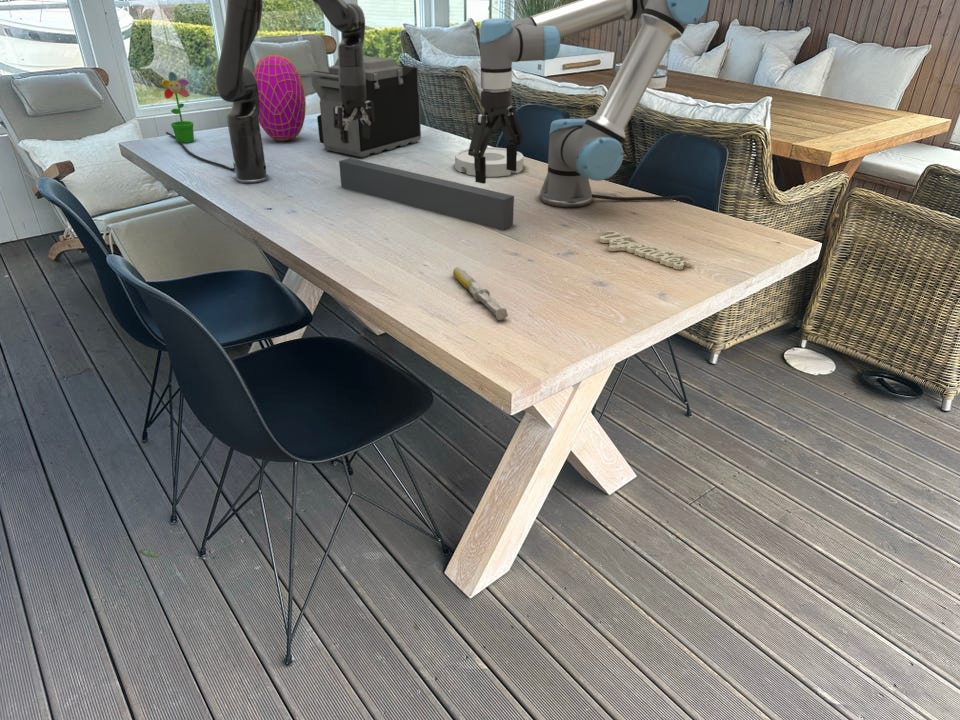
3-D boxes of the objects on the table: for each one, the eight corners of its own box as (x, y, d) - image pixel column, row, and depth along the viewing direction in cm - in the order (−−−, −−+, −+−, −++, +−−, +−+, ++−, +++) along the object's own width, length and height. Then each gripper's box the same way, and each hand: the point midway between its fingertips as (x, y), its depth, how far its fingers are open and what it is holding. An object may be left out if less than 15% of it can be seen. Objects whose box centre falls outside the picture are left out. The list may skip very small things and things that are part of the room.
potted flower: (174, 144, 256) (159, 72, 244) (172, 140, 262) (157, 69, 250) (201, 142, 260) (187, 71, 247) (197, 137, 266) (184, 68, 253)
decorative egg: (293, 132, 276) (283, 50, 261) (319, 140, 264) (310, 56, 249) (249, 139, 265) (236, 54, 250) (273, 148, 253) (261, 60, 238)
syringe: (449, 274, 155) (449, 263, 153) (465, 272, 156) (464, 260, 154) (490, 323, 135) (491, 310, 133) (508, 319, 136) (508, 307, 134)
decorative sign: (585, 238, 173) (610, 229, 179) (584, 241, 173) (610, 233, 179) (673, 269, 156) (698, 259, 162) (672, 273, 156) (697, 262, 162)
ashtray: (457, 158, 244) (457, 146, 242) (522, 159, 243) (522, 147, 241) (452, 176, 224) (452, 163, 222) (523, 177, 223) (524, 165, 221)
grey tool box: (383, 133, 276) (378, 52, 261) (425, 141, 265) (422, 56, 250) (314, 150, 251) (304, 61, 235) (358, 160, 240) (350, 67, 224)
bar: (513, 225, 184) (514, 195, 179) (503, 230, 180) (504, 199, 176) (352, 184, 215) (349, 157, 211) (341, 187, 212) (338, 160, 208)
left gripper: (361, 78, 202) (364, 134, 210) (324, 83, 192) (329, 142, 200) (379, 81, 198) (381, 138, 206) (343, 87, 188) (347, 147, 197)
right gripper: (512, 80, 178) (512, 163, 189) (451, 96, 161) (455, 185, 172) (537, 83, 174) (534, 167, 185) (477, 99, 157) (478, 190, 168)
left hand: (355, 140), depth 203 cm, fingers open, 8 cm apart
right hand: (496, 176), depth 178 cm, fingers open, 13 cm apart
